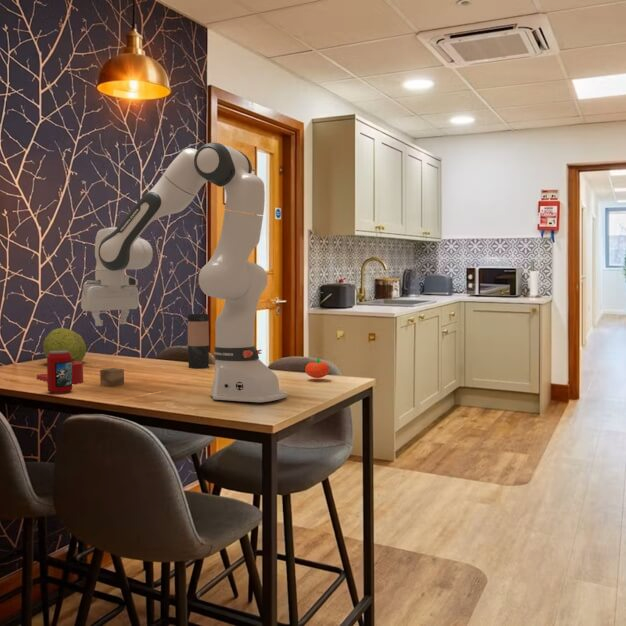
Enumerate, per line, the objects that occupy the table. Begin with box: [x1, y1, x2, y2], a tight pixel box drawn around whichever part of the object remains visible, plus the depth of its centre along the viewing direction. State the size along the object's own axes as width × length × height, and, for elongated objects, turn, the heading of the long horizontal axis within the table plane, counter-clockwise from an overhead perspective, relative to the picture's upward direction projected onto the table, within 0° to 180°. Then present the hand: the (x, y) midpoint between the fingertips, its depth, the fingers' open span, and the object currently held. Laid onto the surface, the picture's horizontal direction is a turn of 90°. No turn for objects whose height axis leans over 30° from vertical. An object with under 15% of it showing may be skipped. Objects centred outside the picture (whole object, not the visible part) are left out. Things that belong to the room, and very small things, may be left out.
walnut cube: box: [99, 367, 125, 388], centre depth 210 cm, size 5×5×5 cm
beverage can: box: [46, 350, 73, 395], centre depth 197 cm, size 7×7×12 cm
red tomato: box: [304, 358, 330, 379], centre depth 225 cm, size 7×8×6 cm
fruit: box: [42, 327, 88, 362], centre depth 248 cm, size 16×14×15 cm
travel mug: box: [187, 313, 210, 370], centre depth 247 cm, size 8×8×20 cm
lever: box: [36, 361, 84, 385], centre depth 215 cm, size 18×9×7 cm, turn 61°
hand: (111, 324), depth 209 cm, fingers open, 8 cm apart
